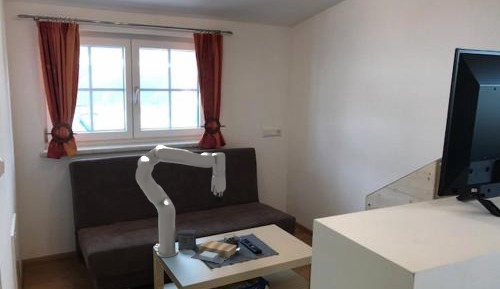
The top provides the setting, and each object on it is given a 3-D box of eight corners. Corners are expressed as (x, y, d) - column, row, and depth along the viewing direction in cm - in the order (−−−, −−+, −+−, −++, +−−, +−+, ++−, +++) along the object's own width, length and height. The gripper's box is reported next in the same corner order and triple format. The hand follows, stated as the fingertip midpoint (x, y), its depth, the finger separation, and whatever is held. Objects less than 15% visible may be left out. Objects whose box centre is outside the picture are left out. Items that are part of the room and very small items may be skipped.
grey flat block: (205, 250, 230) (205, 254, 230) (199, 254, 224) (199, 258, 225) (218, 253, 226) (218, 257, 226) (212, 257, 221) (213, 261, 221)
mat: (190, 257, 227) (190, 257, 227) (199, 251, 235) (199, 251, 235) (220, 264, 219) (220, 263, 219) (228, 258, 227) (228, 257, 227)
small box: (196, 245, 245) (196, 229, 243) (195, 249, 238) (195, 233, 237) (179, 245, 244) (179, 229, 243) (178, 250, 238) (177, 233, 236)
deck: (199, 251, 235) (199, 245, 235) (208, 245, 244) (207, 239, 244) (228, 258, 227) (228, 251, 226) (236, 251, 236) (236, 245, 235)
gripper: (220, 170, 245) (220, 198, 248) (206, 174, 232) (207, 204, 234) (230, 171, 241) (230, 200, 244) (217, 176, 228) (217, 206, 231)
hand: (219, 202), depth 239 cm, fingers closed
